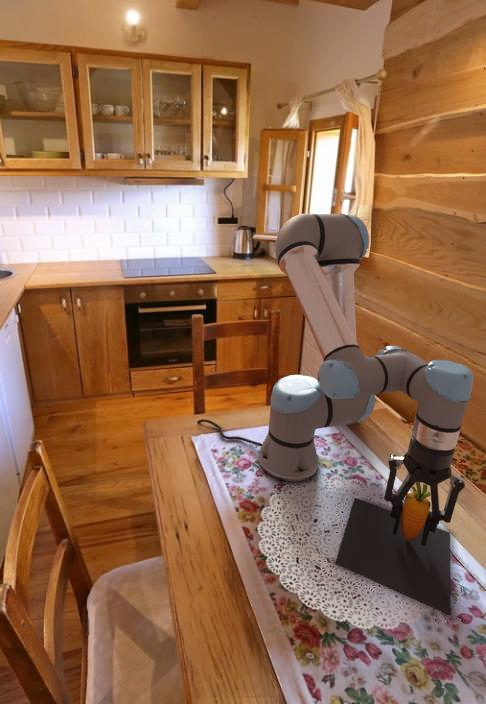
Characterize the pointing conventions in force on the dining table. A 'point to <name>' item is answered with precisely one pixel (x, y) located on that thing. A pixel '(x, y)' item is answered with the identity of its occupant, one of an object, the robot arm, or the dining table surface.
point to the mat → (396, 556)
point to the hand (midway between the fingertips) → (409, 534)
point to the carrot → (415, 512)
